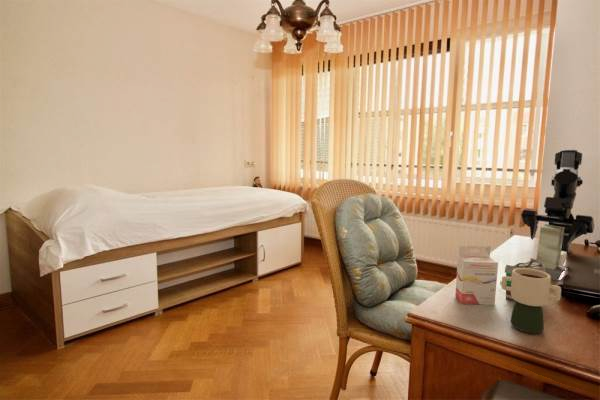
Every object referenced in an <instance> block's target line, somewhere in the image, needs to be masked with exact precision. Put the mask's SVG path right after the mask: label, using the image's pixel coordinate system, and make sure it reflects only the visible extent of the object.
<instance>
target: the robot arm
mask: <svg viewBox="0 0 600 400" xmlns="http://www.w3.org/2000/svg"><path fill="white" fill-rule="evenodd" d="M554 155H555V156H554V166H555V165H556V170H555V172H554V173H555V174H554V175H553V176H552V177H551V184H550V185H551V187H553V191H554V194H553V196H552V197H551V196H547V197H545V199H544V203H543V204H544V205H543V207H544V208H545V209H544V213H545V215H544V214H539V213H538V211H537V210H536V209H535V210H534V209H523V210H522V211H521V214H520V216H521V218H522V221H523V224H524V225H526V226H527V227H528V228H529V230H530V239H531V240H532V241H533V240H534V239H535V237H536V233H537V231H538V228H539V227H538V225H539V222H544V223H545V222H546V223H548V225H554V226H560V227H565V228H564V235H563V242H562V248H561V251H565V252H567V255H568V254H569V253H571V252H572V249H571V248H570V244H571V243H572V242H573V241H575V240H576V239H577V238H579V237H581V236H582V235H583V236H584V235H587V234H593V233H594V230H595V222H594V221H595V220H594V217H592V215H584V214H583V215H582V214H576V216H575V217H574V215H573V214H572V209H573V207H574V202H575V199H576V196H577V193H576V191H577V188H580V187H581V185H583V182H584V181H583V180H582V178H581V176H579V167H580V166H582V163H583V153H582V152H579V151H578V149H575V148H574V149H568V148H567V149H560V151H559V152H555V154H554Z"/></svg>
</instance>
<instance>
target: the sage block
mask: <svg viewBox="0 0 600 400" xmlns="http://www.w3.org/2000/svg"><path fill="white" fill-rule="evenodd" d="M564 228H565V227H560V226H554V225H549V223H547V224H543V225H541V226H540V229H539V236H538V244H537V245H538V246H537V251H536V257H535V259H536V260H538V261H541V262H542V263H543V264H544V266H545V268H549V269H553V270H554V269H556V268H557V267H558V266H559V261H560V255H561V248H562V242H563V235H564Z"/></svg>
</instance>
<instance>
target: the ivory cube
mask: <svg viewBox="0 0 600 400" xmlns="http://www.w3.org/2000/svg"><path fill="white" fill-rule="evenodd" d="M567 255H568V254H567V252H565V251H561V255H560V261H559V265H561V266H563V264H564V262H565V260H566V261H567Z"/></svg>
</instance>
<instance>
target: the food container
mask: <svg viewBox="0 0 600 400" xmlns="http://www.w3.org/2000/svg"><path fill="white" fill-rule="evenodd" d="M529 259H530V261H527V262H518V263H517V264H515V265H510V264H506V265H505V269H504V273H505V276H508V277H512V271H513V270H514V269H517V268H528V269H535V270H539V271H542V272H545V273H546V269H545V266H544V264H543V263H542V262H541V261H538V260H536V258H533V257H531V258H529ZM506 286H508V287H511V281H507V283H506ZM505 300H506V301H508V302H511V303H515V302H516V301H515V300H514V299H513V298H512V296H511V291H507V290H505Z"/></svg>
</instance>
